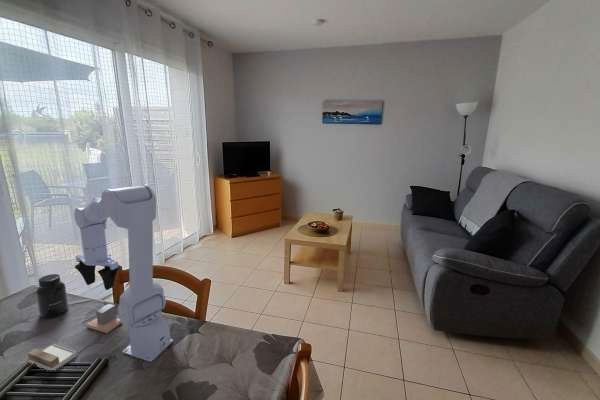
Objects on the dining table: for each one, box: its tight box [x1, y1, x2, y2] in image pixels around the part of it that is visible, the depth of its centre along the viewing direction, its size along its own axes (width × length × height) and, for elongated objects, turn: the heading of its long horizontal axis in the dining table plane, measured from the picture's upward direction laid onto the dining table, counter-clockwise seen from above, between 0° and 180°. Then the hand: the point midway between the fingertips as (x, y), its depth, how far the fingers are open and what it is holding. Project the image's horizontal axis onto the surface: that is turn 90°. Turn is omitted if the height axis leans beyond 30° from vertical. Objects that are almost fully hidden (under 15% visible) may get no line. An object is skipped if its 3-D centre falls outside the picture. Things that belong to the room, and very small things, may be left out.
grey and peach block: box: [86, 303, 123, 334], centre depth 81 cm, size 8×5×5 cm
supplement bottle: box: [35, 273, 69, 319], centre depth 85 cm, size 7×7×12 cm
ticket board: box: [27, 343, 77, 370], centre depth 69 cm, size 8×6×3 cm
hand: (100, 285), depth 86 cm, fingers open, 7 cm apart
